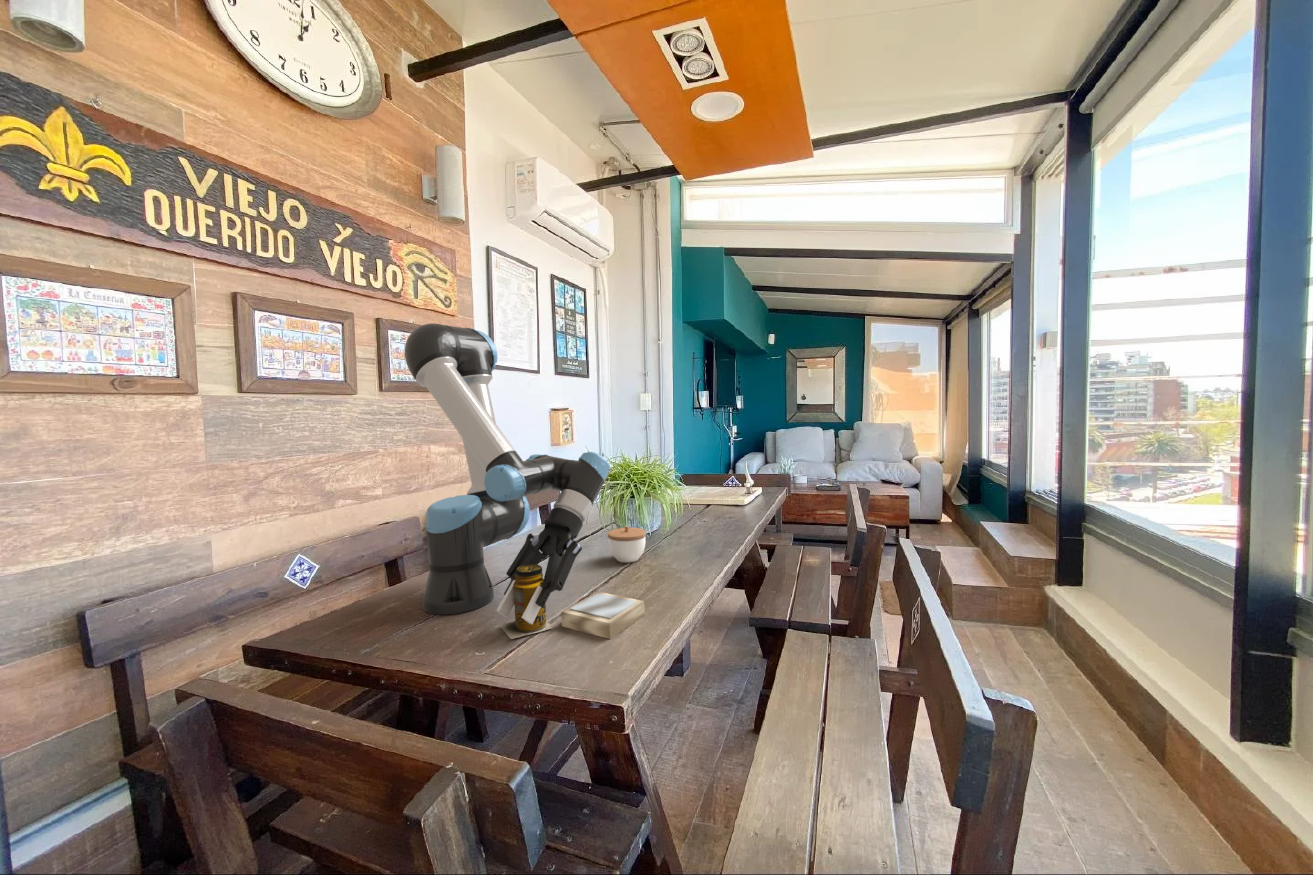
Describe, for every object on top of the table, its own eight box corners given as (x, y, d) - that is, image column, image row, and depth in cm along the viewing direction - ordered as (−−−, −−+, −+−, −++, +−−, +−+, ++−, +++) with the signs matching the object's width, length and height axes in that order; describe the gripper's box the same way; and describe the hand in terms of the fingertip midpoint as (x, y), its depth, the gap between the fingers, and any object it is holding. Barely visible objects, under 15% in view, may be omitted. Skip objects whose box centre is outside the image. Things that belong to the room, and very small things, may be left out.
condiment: (553, 628, 101) (551, 568, 100) (511, 640, 97) (508, 577, 96) (540, 615, 107) (537, 559, 106) (499, 626, 103) (496, 567, 102)
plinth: (561, 626, 103) (561, 610, 102) (598, 604, 113) (598, 590, 113) (610, 638, 96) (609, 621, 96) (645, 615, 107) (644, 599, 106)
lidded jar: (654, 556, 147) (652, 524, 146) (632, 567, 138) (631, 532, 137) (623, 551, 152) (622, 520, 152) (600, 561, 143) (599, 528, 143)
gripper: (611, 529, 109) (561, 636, 96) (544, 520, 119) (491, 615, 106) (594, 509, 104) (540, 619, 91) (526, 502, 114) (468, 599, 101)
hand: (514, 617), depth 99 cm, fingers closed on condiment, 6 cm apart
